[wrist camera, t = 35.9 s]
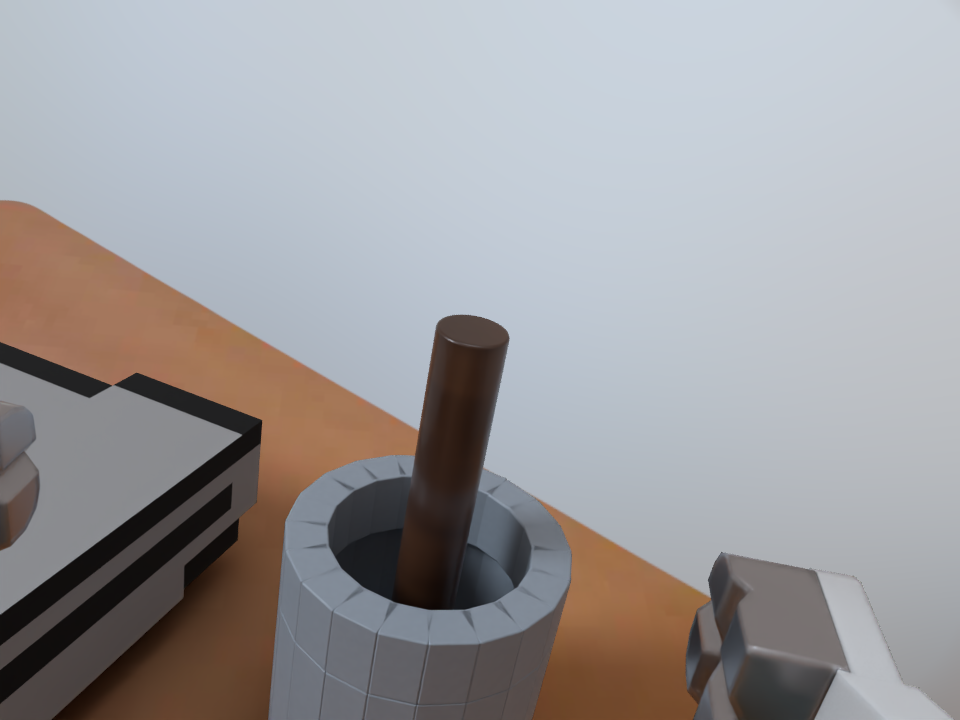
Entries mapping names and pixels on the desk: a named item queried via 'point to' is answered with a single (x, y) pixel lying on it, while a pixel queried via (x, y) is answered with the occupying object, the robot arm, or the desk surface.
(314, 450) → the desk surface
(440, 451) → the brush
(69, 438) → the game console
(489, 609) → the hollow cylinder
